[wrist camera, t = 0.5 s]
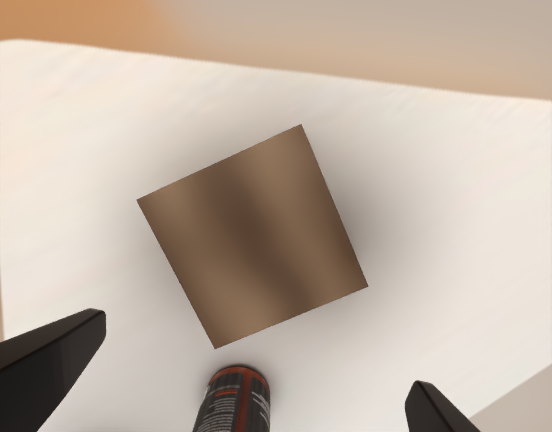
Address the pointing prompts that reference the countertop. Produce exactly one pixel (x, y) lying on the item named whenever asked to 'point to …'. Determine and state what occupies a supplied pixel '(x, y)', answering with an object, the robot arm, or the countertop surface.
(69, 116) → the countertop surface
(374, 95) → the countertop surface
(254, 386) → the supplement bottle
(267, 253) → the walnut block
